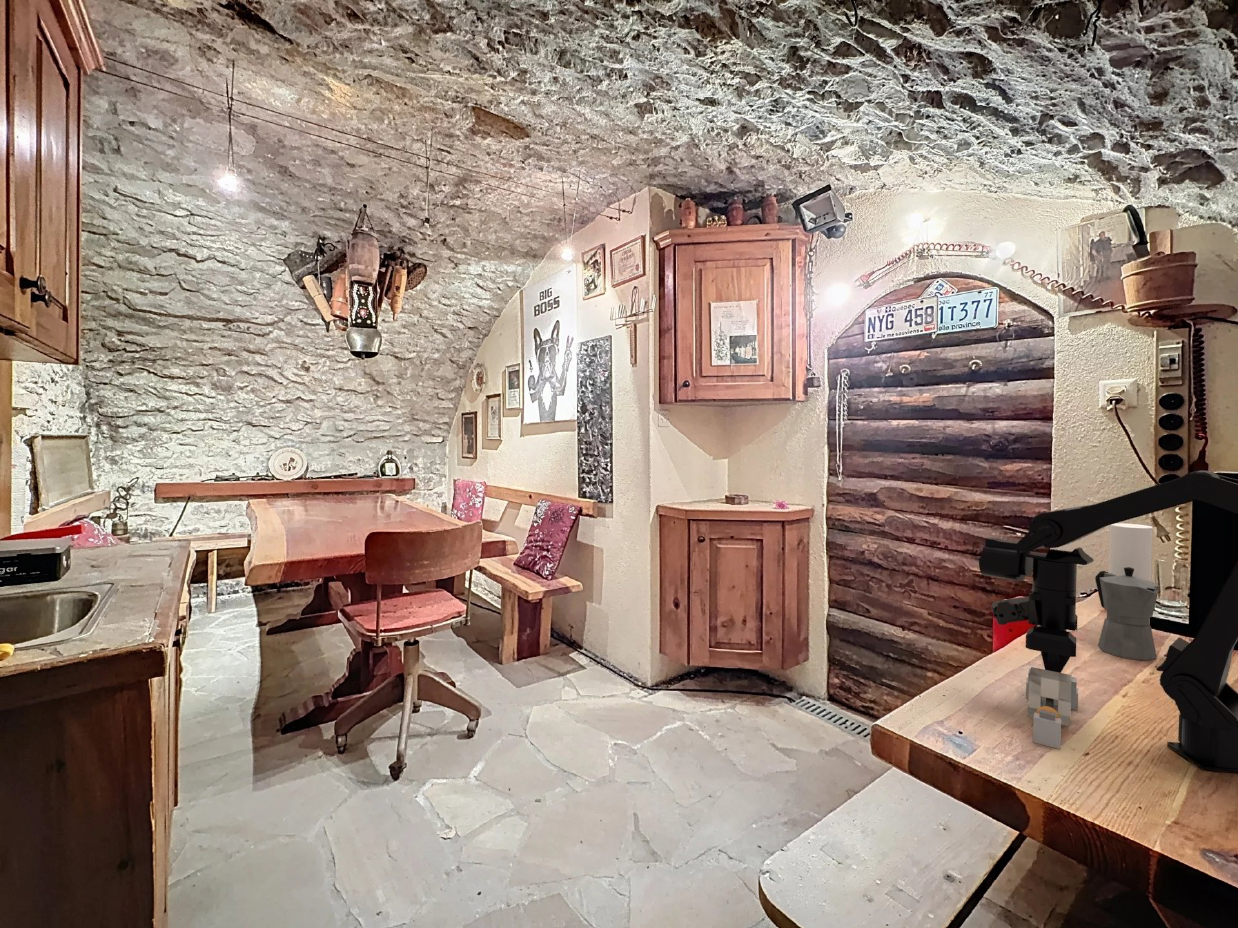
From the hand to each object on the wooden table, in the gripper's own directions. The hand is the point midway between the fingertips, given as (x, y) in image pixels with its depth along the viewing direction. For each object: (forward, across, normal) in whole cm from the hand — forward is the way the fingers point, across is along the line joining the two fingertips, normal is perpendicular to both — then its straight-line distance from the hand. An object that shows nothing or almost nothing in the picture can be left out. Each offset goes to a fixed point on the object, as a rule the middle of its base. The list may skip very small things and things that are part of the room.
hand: (1051, 680), depth 94 cm
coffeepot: (+5, -42, +10) cm, 44 cm away
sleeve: (+5, +5, 0) cm, 7 cm away
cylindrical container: (+5, -56, +12) cm, 57 cm away
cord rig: (+5, +5, 0) cm, 7 cm away
